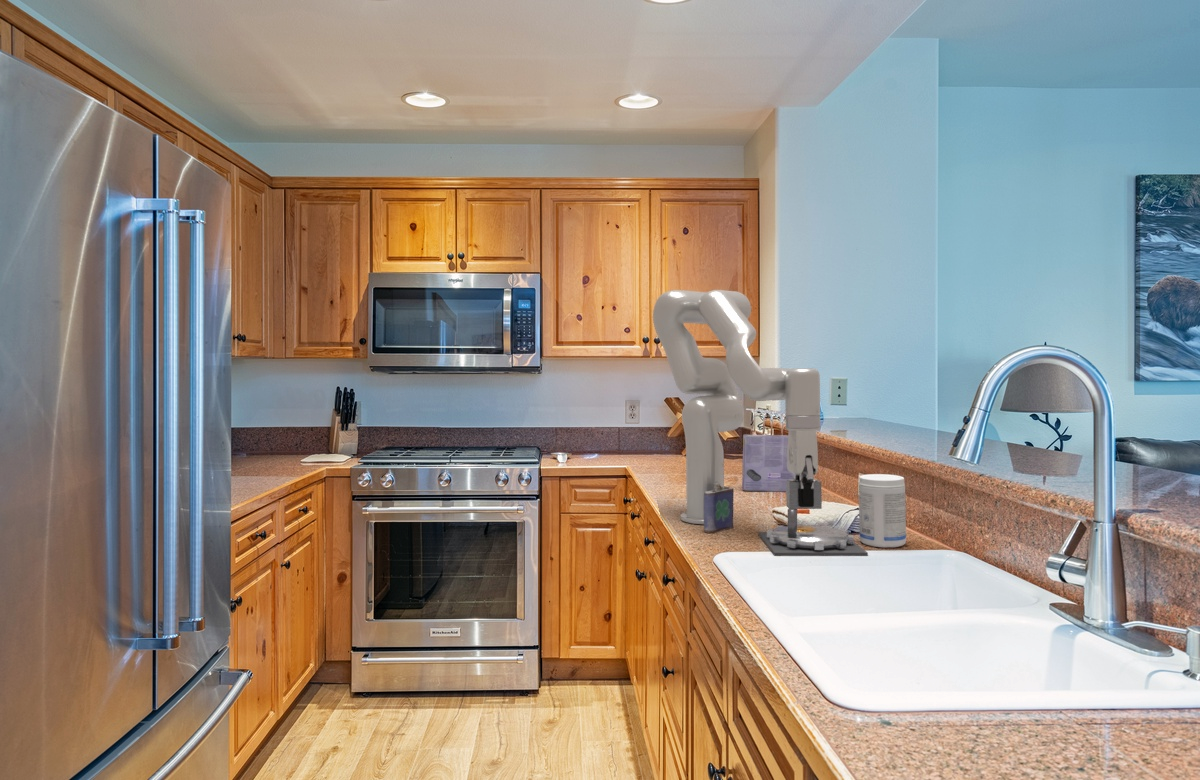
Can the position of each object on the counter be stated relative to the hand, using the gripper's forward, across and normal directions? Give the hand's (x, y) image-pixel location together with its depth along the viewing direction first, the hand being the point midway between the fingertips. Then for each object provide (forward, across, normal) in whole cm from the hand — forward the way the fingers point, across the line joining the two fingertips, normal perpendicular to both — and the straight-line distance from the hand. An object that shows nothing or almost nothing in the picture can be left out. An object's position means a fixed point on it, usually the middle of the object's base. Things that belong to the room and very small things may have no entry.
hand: (804, 504), depth 165 cm
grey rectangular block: (+1, 0, 0) cm, 1 cm away
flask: (+8, -11, -18) cm, 22 cm away
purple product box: (+8, -66, +6) cm, 67 cm away
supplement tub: (+9, +3, +16) cm, 19 cm away
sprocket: (+7, +4, 0) cm, 8 cm away
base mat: (+8, +4, 0) cm, 9 cm away
